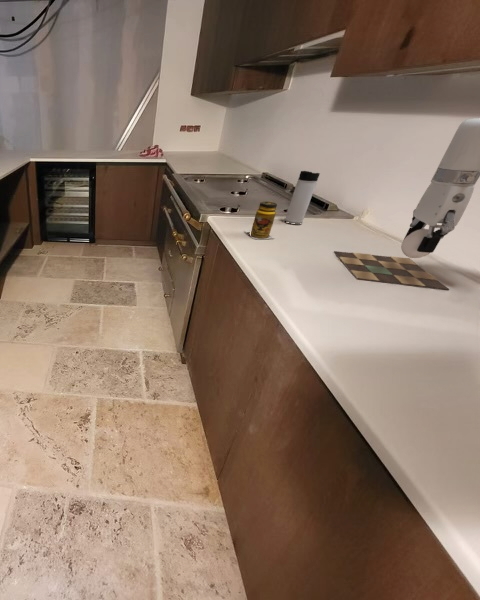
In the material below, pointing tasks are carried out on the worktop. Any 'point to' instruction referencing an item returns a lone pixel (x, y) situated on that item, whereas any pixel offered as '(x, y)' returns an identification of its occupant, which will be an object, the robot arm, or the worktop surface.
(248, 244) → the worktop surface
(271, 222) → the condiment
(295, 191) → the travel mug
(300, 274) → the worktop surface
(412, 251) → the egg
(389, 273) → the checkerboard
